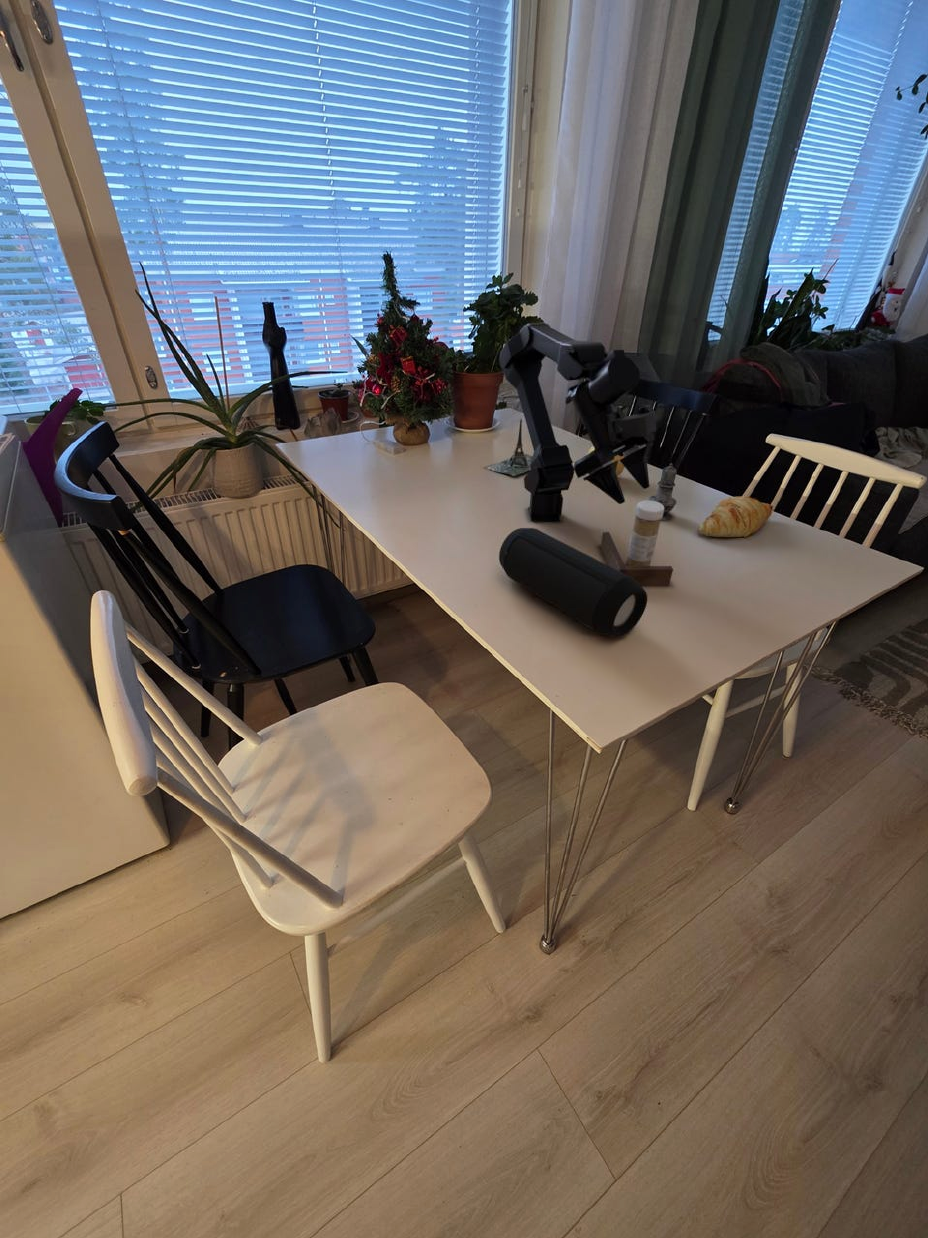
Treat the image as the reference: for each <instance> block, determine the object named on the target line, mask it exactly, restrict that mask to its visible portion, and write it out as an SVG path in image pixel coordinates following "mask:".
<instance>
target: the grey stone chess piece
mask: <svg viewBox="0 0 928 1238" xmlns="http://www.w3.org/2000/svg"><path fill="white" fill-rule="evenodd" d="M677 471H678V470H677V469H676V468H675V467H674V466H673V463H672V462H671V463H669V466H665V467H664V468H663V469H662V473H661V476H660V480H659V481H658V482H657V485H658V488H657V492H656V494H654V495H651V496H650V497H648V500H649V501H656V502H659V503H661V504H662V505H663V506H664V513H663V517H662V519H661V521H669V520H671V519H672V514H671V513H670V512H672V510H673V509H674V508H675V506H676V505H677V504H678V503H677V502H678V501H677V499H675V498H674V497H673V491H674V487H676V483H675V480H676V476H677Z"/></svg>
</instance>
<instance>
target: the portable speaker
mask: <svg viewBox="0 0 928 1238" xmlns="http://www.w3.org/2000/svg"><path fill="white" fill-rule="evenodd" d="M498 561H499V564H500V566H501V567H502V569H503V571H504V573H505V575H507V577H508V578H510V579H511V580H513V581H514V582H516V583H517V584H519V585H520V586H522V587H524V588H525V589H527V590H528V591H530V592H532V593H533V594H535V595H537V596H538V597H539V598H541V599H543V600H545V601H546V602H548V603H550V604H551V605H553V606H554V607H555V608H558V610H561V611H562V612H564V613H565V614H567V615H569V616H570V617H572V618H574V619H575V620H577V621H579V622H580V623H581V624H583V625H585V626H586V627H588V628H590V629H591V630H593V631H595V632H596V633H598V634H600V635H602V636H608V637H613V638H621V637H624V636H626V635H627V634H629V633H630V632H631V631H632V630H633V629H634V628H635V627H636V625H638V623H639V622H640V620H641V618H642V617H643V615H644V613H645V610H646V608H647V604H648V594H647V591H646V590H645V588H643V586H641V585H640V584H639V583H638V582H637V581H636V580H635V579H634V578H632V577H630V576H628V575H626V574H624V573H622V572H620V571H618V570H616V569H614V568H612V567H610V566H608V564H607V563H604V562H602V561H600V560H598V559H596V558H594V557H592V556H590V555H589V554H587V553H584V552H582V551H580V550H579V549H577V548H575V547H573V546H571V545H570V544H567V543H565V542H563V541H561V540H559V539H557V538H555V537H553V536H552V535H549V534H547V533H545V532H543V531H542V530H540V529H538V528H534V527H519V528H516V529H514V530H512V531H511V532H510V533H509V534H508V535H507V536H506V537H505V539H504V540H503V542H502V544H501V546H500V548H499V553H498Z"/></svg>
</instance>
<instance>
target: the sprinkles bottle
mask: <svg viewBox="0 0 928 1238" xmlns="http://www.w3.org/2000/svg"><path fill="white" fill-rule="evenodd" d="M663 513H664V506H663V505H662V504H661V503H659V502H656V501H649V499H648V500H646V499H645V500H642V501H639V502H638V503H637V504H636V508H635V519H634V522H633V524H634V525H633V528H632V532H631V536H630V540H629V545H628V550H627V556H626V561H625V564H624V565H625V566H651V562H652V559H653V556H654V552H655V549H656V544H657V541H658V540H657V539H658V535H659V530H660V525H661V522H662V520H661V519H662V517H663Z"/></svg>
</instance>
